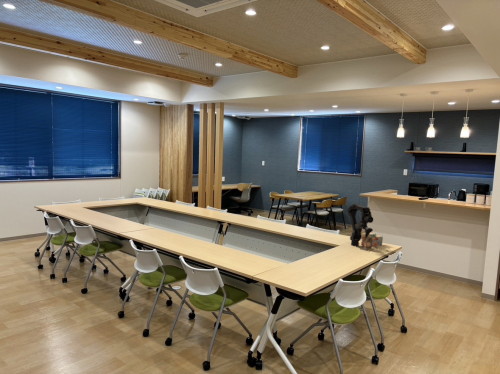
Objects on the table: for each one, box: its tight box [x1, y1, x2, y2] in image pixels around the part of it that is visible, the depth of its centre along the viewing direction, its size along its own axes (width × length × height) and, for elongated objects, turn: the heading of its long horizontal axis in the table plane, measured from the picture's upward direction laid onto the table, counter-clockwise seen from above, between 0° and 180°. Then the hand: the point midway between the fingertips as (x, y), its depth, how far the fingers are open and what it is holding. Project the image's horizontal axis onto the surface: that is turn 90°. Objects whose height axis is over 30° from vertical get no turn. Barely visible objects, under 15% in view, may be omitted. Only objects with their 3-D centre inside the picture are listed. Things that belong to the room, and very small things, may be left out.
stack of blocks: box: [360, 232, 384, 247], centre depth 350 cm, size 21×6×12 cm, turn 112°
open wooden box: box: [361, 236, 373, 249], centre depth 331 cm, size 6×6×11 cm
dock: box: [359, 247, 374, 252], centre depth 331 cm, size 9×12×2 cm
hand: (362, 236), depth 328 cm, fingers open, 9 cm apart
